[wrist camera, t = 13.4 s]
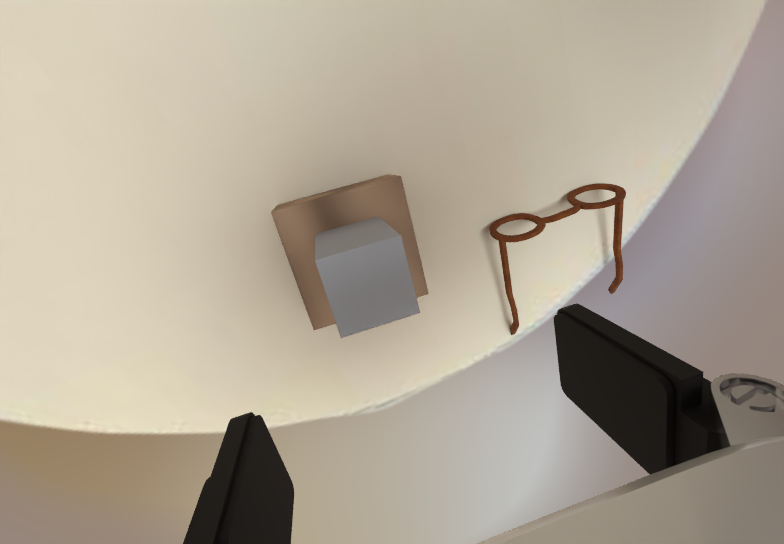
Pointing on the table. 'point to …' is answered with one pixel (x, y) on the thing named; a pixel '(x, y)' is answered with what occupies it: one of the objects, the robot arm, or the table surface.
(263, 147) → the table surface
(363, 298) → the grey block
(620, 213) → the glasses
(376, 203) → the block
